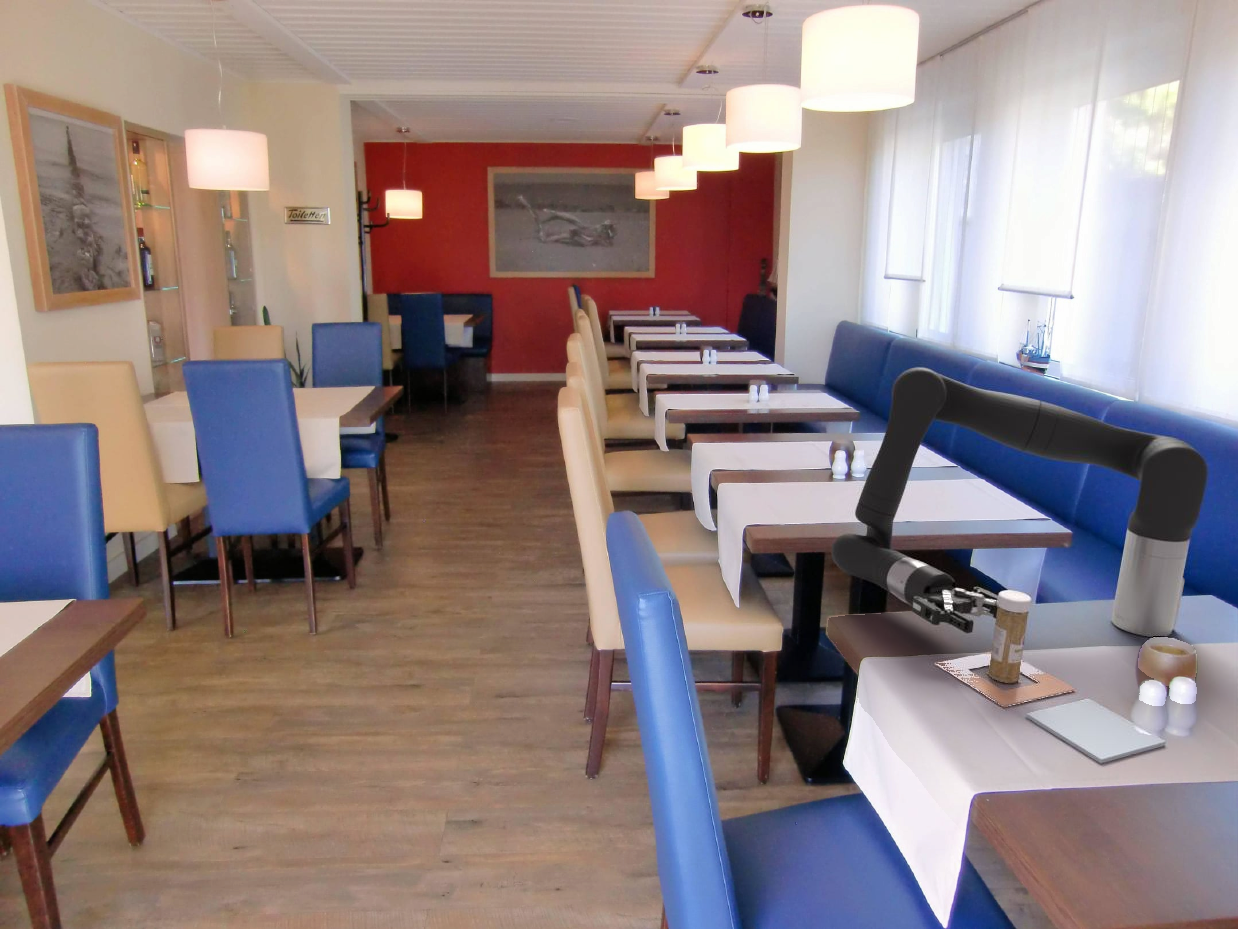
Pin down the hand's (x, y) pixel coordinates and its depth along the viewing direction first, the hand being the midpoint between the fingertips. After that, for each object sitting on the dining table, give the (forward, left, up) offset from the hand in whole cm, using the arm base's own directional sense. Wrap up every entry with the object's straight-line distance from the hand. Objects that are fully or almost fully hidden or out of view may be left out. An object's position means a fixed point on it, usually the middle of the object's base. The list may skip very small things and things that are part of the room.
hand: (992, 623), depth 136 cm
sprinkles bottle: (0, +3, -8) cm, 8 cm away
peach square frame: (0, +3, -8) cm, 8 cm away
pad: (0, +19, -8) cm, 21 cm away
